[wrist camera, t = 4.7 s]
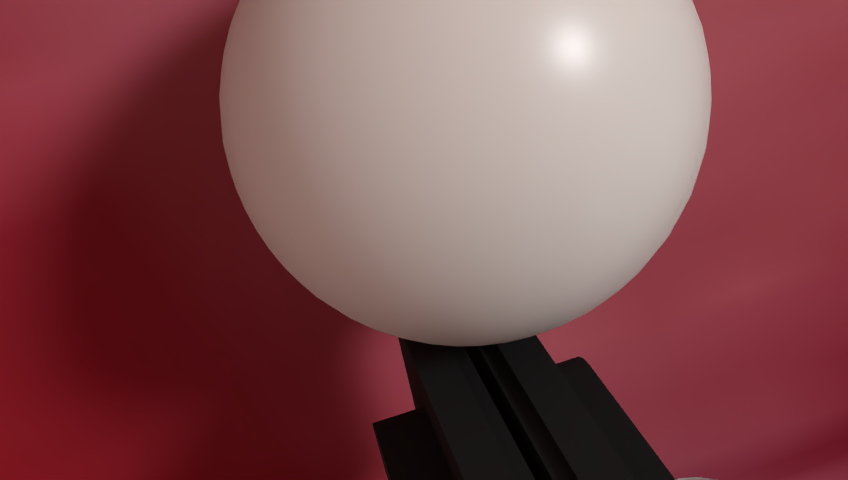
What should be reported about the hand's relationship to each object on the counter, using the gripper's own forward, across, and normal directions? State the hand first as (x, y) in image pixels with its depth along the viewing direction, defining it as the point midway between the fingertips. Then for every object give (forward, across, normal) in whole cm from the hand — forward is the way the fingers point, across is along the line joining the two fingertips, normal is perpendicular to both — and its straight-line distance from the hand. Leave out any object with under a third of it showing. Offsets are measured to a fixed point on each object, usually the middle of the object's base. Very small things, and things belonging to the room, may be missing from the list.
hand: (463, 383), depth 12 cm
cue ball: (0, 0, -4) cm, 4 cm away
